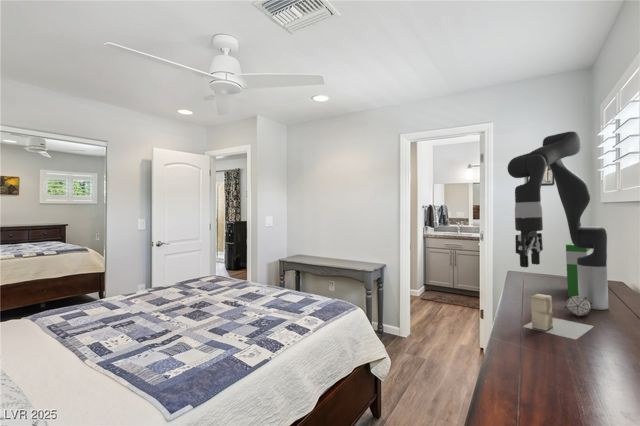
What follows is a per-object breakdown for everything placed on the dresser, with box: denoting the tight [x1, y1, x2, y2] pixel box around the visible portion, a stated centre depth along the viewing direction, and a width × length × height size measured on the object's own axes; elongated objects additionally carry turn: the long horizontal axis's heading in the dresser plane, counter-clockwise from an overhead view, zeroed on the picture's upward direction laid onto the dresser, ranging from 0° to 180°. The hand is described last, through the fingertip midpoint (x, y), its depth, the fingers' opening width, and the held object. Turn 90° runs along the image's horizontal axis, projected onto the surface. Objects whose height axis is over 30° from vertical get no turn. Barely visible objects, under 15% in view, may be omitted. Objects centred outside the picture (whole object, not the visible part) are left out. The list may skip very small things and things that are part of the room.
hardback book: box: [565, 241, 593, 297], centre depth 150 cm, size 18×7×24 cm, turn 134°
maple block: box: [530, 293, 554, 333], centre depth 107 cm, size 6×4×11 cm, turn 125°
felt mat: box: [522, 317, 595, 341], centre depth 108 cm, size 18×15×1 cm
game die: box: [563, 294, 594, 319], centre depth 118 cm, size 9×8×10 cm
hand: (530, 265), depth 102 cm, fingers open, 8 cm apart
